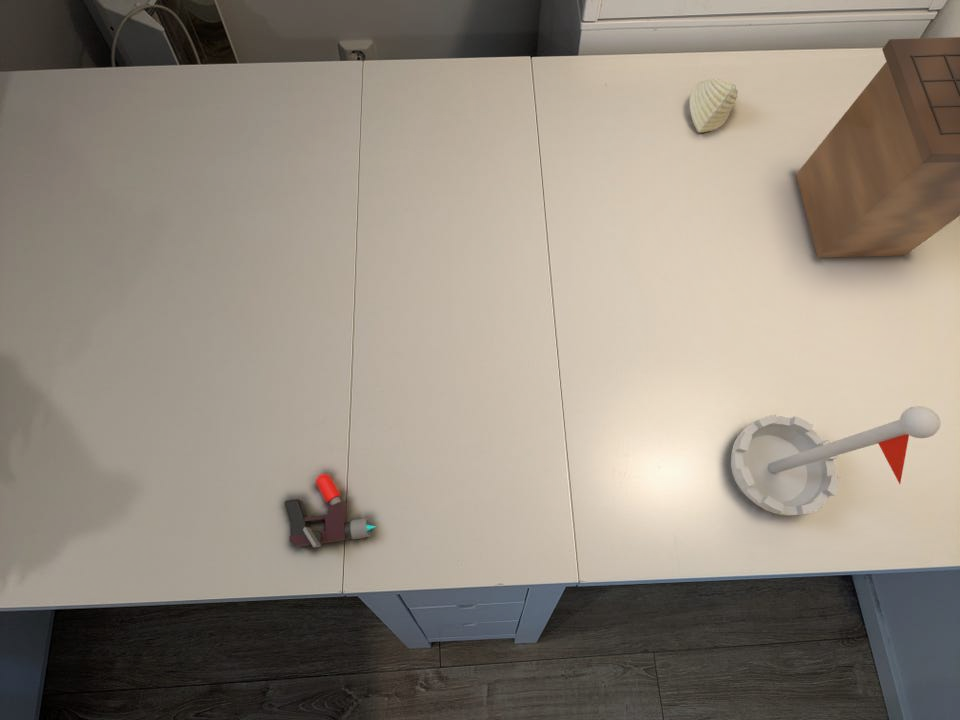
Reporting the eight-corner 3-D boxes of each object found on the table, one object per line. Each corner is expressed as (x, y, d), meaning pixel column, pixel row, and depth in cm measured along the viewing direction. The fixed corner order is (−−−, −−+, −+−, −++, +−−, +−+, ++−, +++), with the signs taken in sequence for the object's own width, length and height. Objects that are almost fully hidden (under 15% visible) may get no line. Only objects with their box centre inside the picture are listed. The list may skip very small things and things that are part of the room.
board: (881, 168, 94) (1017, 34, 70) (912, 261, 88) (1071, 149, 64) (787, 171, 94) (890, 38, 70) (811, 264, 88) (932, 154, 64)
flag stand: (720, 419, 80) (847, 343, 52) (812, 427, 79) (992, 356, 51) (724, 511, 76) (865, 484, 47) (822, 522, 75) (1024, 500, 47)
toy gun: (379, 539, 75) (371, 538, 71) (290, 552, 75) (277, 552, 70) (373, 468, 78) (366, 462, 74) (288, 480, 78) (276, 475, 73)
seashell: (745, 89, 97) (754, 102, 91) (709, 130, 103) (714, 145, 97) (710, 61, 96) (717, 72, 90) (675, 104, 101) (679, 118, 95)
